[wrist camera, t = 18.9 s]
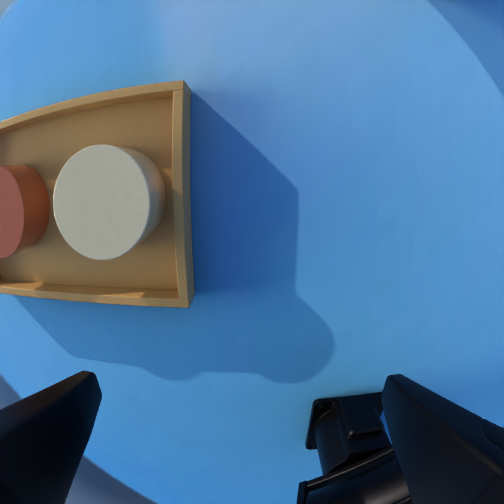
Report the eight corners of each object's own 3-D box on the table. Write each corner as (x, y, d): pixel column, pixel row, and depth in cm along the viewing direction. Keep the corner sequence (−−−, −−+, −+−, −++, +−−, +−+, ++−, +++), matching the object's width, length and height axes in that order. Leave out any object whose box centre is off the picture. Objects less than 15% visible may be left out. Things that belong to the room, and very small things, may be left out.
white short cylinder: (168, 247, 18) (154, 261, 16) (82, 247, 18) (58, 260, 16) (165, 143, 17) (149, 138, 14) (76, 153, 17) (50, 152, 14)
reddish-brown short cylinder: (54, 247, 18) (29, 259, 16) (1, 248, 18) (-23, 258, 16) (48, 158, 17) (21, 158, 14) (-6, 170, 17) (-31, 173, 14)
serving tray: (195, 294, 20) (189, 308, 18) (3, 283, 20) (-11, 291, 18) (191, 89, 16) (184, 79, 14) (-10, 132, 17) (-26, 132, 14)
